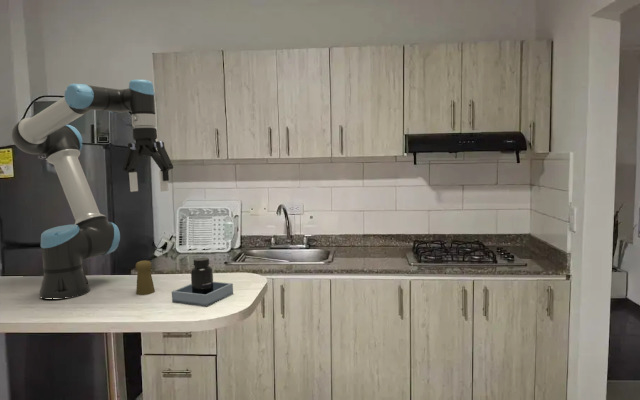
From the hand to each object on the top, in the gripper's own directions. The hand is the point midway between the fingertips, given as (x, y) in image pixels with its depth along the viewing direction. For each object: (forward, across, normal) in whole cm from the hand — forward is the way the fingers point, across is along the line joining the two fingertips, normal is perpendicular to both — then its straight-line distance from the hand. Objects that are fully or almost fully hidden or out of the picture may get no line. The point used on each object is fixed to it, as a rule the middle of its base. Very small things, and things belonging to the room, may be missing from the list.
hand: (149, 191), depth 152 cm
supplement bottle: (+34, +21, -1) cm, 40 cm away
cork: (+35, -3, -2) cm, 35 cm away
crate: (+35, +21, -1) cm, 41 cm away
